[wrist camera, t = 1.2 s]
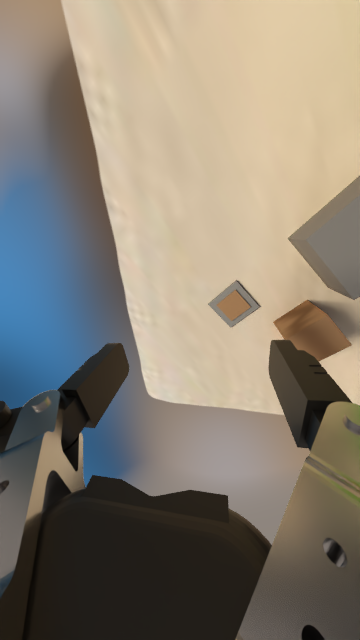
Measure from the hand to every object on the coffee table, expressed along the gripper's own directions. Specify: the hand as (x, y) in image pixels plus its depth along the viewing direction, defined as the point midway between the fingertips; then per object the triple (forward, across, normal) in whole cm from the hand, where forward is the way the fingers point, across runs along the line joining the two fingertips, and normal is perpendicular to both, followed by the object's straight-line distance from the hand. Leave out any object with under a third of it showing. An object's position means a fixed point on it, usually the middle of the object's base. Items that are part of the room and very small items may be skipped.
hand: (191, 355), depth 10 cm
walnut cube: (+22, -15, +10) cm, 29 cm away
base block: (+22, -19, -3) cm, 29 cm away
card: (+22, -4, +6) cm, 23 cm away
